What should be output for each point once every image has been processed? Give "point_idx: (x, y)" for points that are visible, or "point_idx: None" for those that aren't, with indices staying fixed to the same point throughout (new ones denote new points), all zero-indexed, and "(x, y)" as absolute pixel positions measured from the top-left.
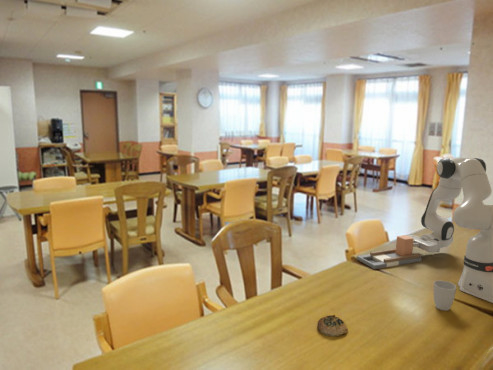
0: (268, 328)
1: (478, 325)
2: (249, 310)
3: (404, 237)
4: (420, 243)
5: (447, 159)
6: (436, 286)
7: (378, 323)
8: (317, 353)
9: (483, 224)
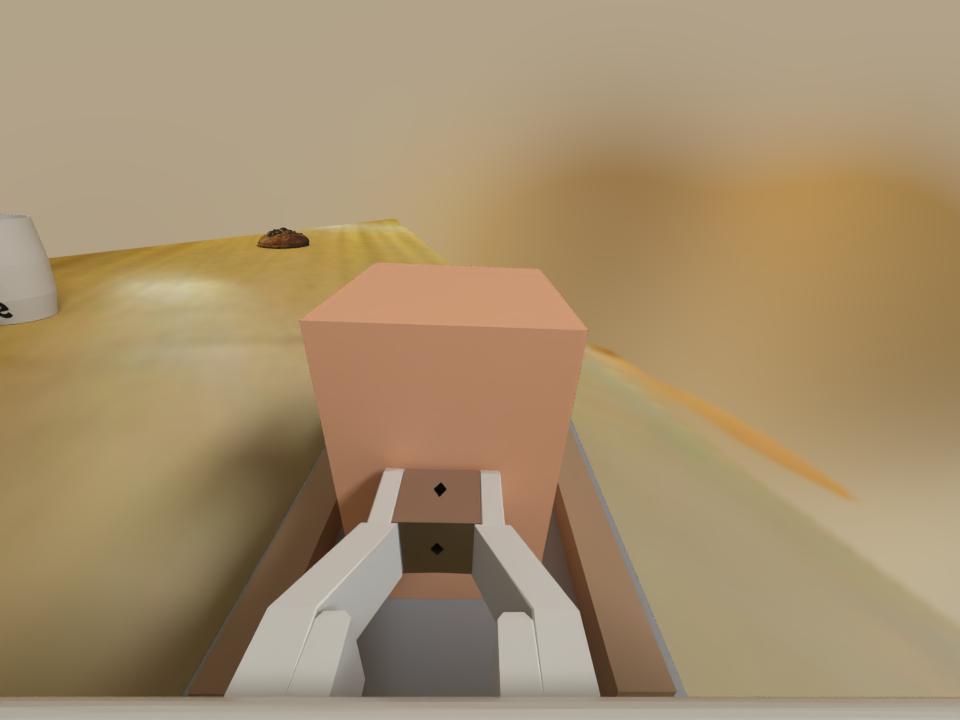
0: (348, 235)
1: None
2: (396, 236)
3: (449, 280)
4: (136, 705)
5: None
6: (21, 217)
7: (221, 259)
8: None
9: None
